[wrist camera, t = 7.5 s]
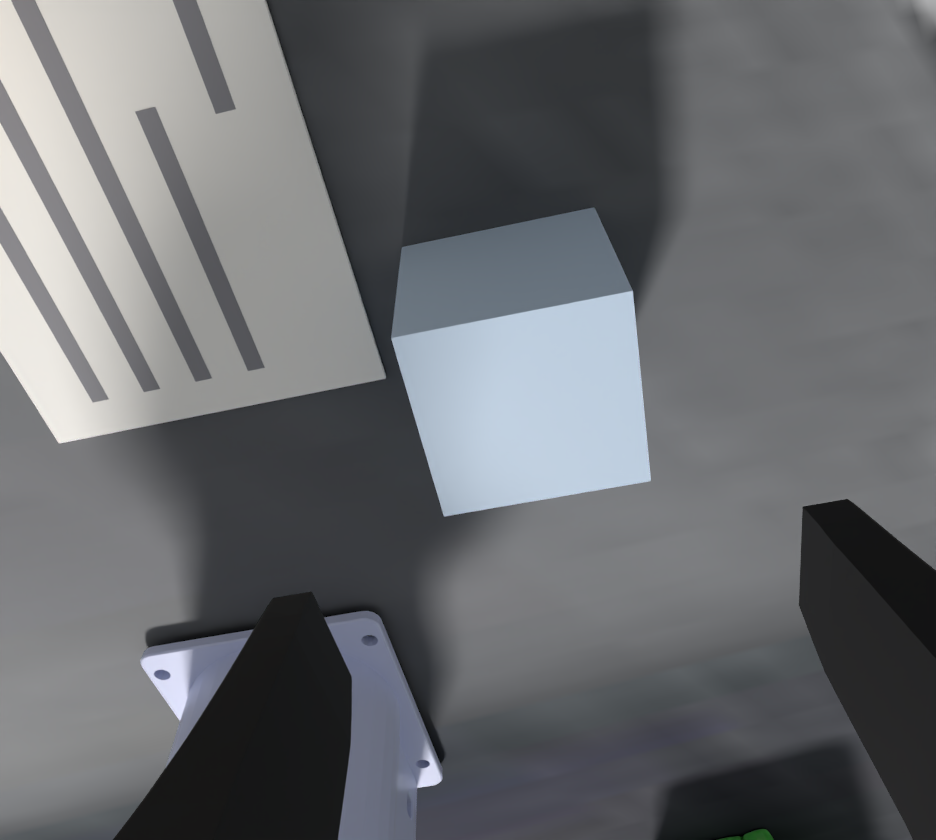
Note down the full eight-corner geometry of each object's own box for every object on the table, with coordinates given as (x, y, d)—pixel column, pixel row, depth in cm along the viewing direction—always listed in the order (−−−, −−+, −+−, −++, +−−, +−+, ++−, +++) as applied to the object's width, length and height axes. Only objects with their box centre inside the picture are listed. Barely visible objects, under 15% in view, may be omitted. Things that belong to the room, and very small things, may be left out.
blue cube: (613, 371, 20) (650, 480, 17) (444, 403, 21) (444, 516, 17) (593, 206, 18) (632, 291, 14) (401, 245, 18) (391, 338, 15)
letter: (386, 376, 20) (386, 378, 20) (61, 440, 21) (58, 443, 21) (199, -208, 14) (198, -209, 13) (-266, -77, 14) (-272, -77, 14)
